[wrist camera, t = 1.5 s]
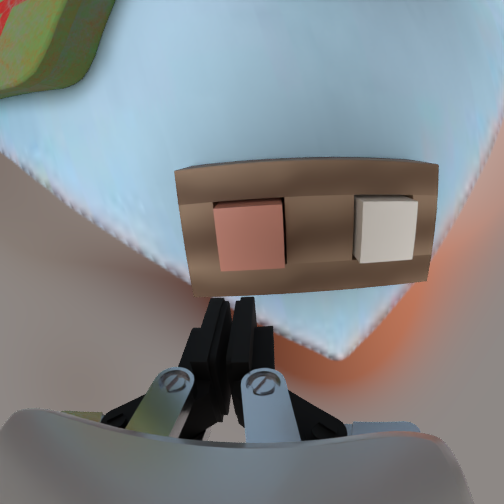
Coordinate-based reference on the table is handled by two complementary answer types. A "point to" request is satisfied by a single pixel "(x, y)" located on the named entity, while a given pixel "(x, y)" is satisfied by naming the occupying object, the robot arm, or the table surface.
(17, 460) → the robot arm
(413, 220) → the key ivory
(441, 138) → the table surface
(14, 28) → the first aid kit
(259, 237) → the key red
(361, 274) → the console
